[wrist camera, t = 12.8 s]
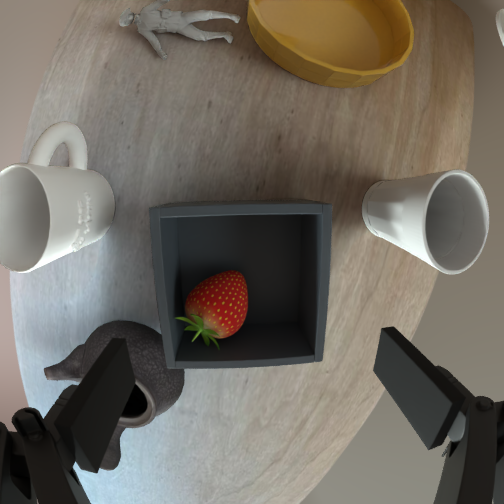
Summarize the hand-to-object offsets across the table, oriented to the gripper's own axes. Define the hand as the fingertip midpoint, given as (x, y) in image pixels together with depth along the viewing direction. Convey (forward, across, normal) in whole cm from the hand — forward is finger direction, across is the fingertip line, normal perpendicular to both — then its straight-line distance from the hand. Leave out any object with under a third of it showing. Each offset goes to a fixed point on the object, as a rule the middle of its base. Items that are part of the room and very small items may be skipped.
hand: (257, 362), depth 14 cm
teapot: (+16, -15, -14) cm, 26 cm away
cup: (+17, +16, +6) cm, 24 cm away
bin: (+16, 0, 0) cm, 16 cm away
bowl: (+17, +10, +28) cm, 34 cm away
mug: (+16, -16, +9) cm, 25 cm away
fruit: (+15, 0, 0) cm, 15 cm away
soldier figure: (+17, -6, +26) cm, 32 cm away
